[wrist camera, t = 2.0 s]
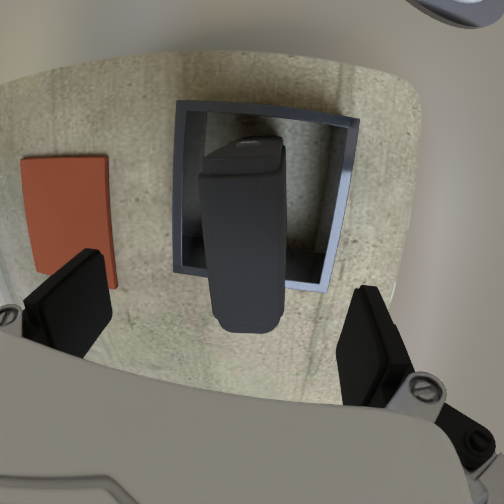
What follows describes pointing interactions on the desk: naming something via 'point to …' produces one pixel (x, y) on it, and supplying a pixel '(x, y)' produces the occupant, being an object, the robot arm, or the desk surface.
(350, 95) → the desk surface
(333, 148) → the grey open bin
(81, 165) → the mat
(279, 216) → the card reader
